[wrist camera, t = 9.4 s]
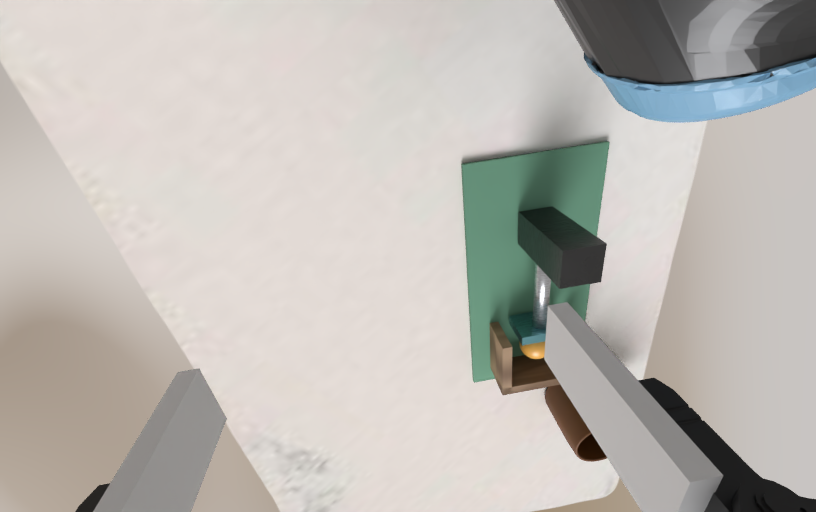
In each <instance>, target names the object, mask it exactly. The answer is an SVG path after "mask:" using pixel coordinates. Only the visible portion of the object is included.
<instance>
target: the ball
mask: <svg viewBox="0 0 816 512" xmlns="http://www.w3.org/2000/svg"><path fill="white" fill-rule="evenodd" d="M519 345H520V348H521V350H522V352H523V353H524V354H525V355H526V356H527V357H529V358H532V359H541V358H544V354H545V341H544V342H539V343H533V344H528V345H523V346H522V344H521V343H520V341H519Z"/></svg>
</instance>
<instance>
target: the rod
mask: <svg viewBox="0 0 816 512" xmlns="http://www.w3.org/2000/svg"><path fill="white" fill-rule="evenodd" d="M518 245H519V246H520V247H521V248H522V249H523V250H524V251H525V252H526V253H527V254H528V255H529V257H530V258H531V259H532V260H533V261H534V262H535V279H534V299H533V312H528V313H522V314H517V315H511V316H509V324H510V326H511V328H512V329H513V331H514V333H515V334H516V336H517V338H518V339H519V341H520V343H521V344H522V346H523V345H528V344H533V343H539V342H544V341H545V339H546V325H547V311H548V305H549V300H550V287H551V280H552V282H553V283H554V284H555V285H556V286H557V287H558V288H559V289H563V288H569V287H575V286H580V285H586V284H592V283H597V282H601V277H602V271H603V264H604V257H605V251H606V243H605V242H603V241H602V240H600V239H599V238H598V237H596V236H595V235H593V234H592V233H590V232H589V231H587V230H586V229H585V228H583V227H582V226H580V225H579V224H577V223H576V222H575V221H573V220H572V219H570V218H569V217H567V216H566V215H565V214H563V213H562V212H560V211H559V210H557V209H556V208H554V207H553V206H551V207H545V208H539V209H533V210H527V211H521V212H518Z"/></svg>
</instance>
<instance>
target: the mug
mask: <svg viewBox="0 0 816 512" xmlns="http://www.w3.org/2000/svg"><path fill="white" fill-rule="evenodd" d="M545 400H546V403H547V405H548V407H549V409H550V411H551V413H552V415H553V416H554V418H555V420H556V422H557V424H558V426H559V427H560V429H561V431H562V433H563V435H564V436H565V438H566V440H567V442H568V443H569V445H570V446H571V448H572V449H573V451H574V452H575V454H576V455H577V457H579V458H580V459H581V460H584V461H599V460H603V459H606V458H607V456H606V455H605V453H604V452H603V450H602V449H601V447H600V445H599V444H598V442H597V441H596V439H595V438H594V436H593V435H592V433H591V431H590V430H589V428H588V427H587V425H586V424H585V422H584V421H583V419H582V417H581V416H580V414H579V413H578V411H577V410H576V408H575V407H574V405H573V403H572V402H571V400H570V399H569V397H568V396H567V394H566V392H565V391H564V389H563V388H562V386H561V385H555V386H549V387H548V388H547V390H546V393H545Z"/></svg>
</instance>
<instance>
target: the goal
mask: <svg viewBox="0 0 816 512" xmlns="http://www.w3.org/2000/svg"><path fill="white" fill-rule="evenodd" d="M489 325H490V368H491V370H492V372H493V374H494V377H495V379H496V381H497V383H498V386H499V388H500V390H501V393H502V395H507V394H512V393H518V392H523V391H528V390H534V389H539V388H544V387H549V386H555V385H560V383H559V382H558V380H557V378H556V377H555V375H554V374H553V372H552V371H551V369H550V368H549V366H548V364H547V363H546V361H545V360H544V358H541V359H532V358H529V357H527V356H526V355H522V356H516V357H512V345H511V344H510V342H509V340H508V338H507V336H506V335H505V333H504V331H503V329H502V327H501V326H500V324H499V322H492V323H489Z"/></svg>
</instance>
